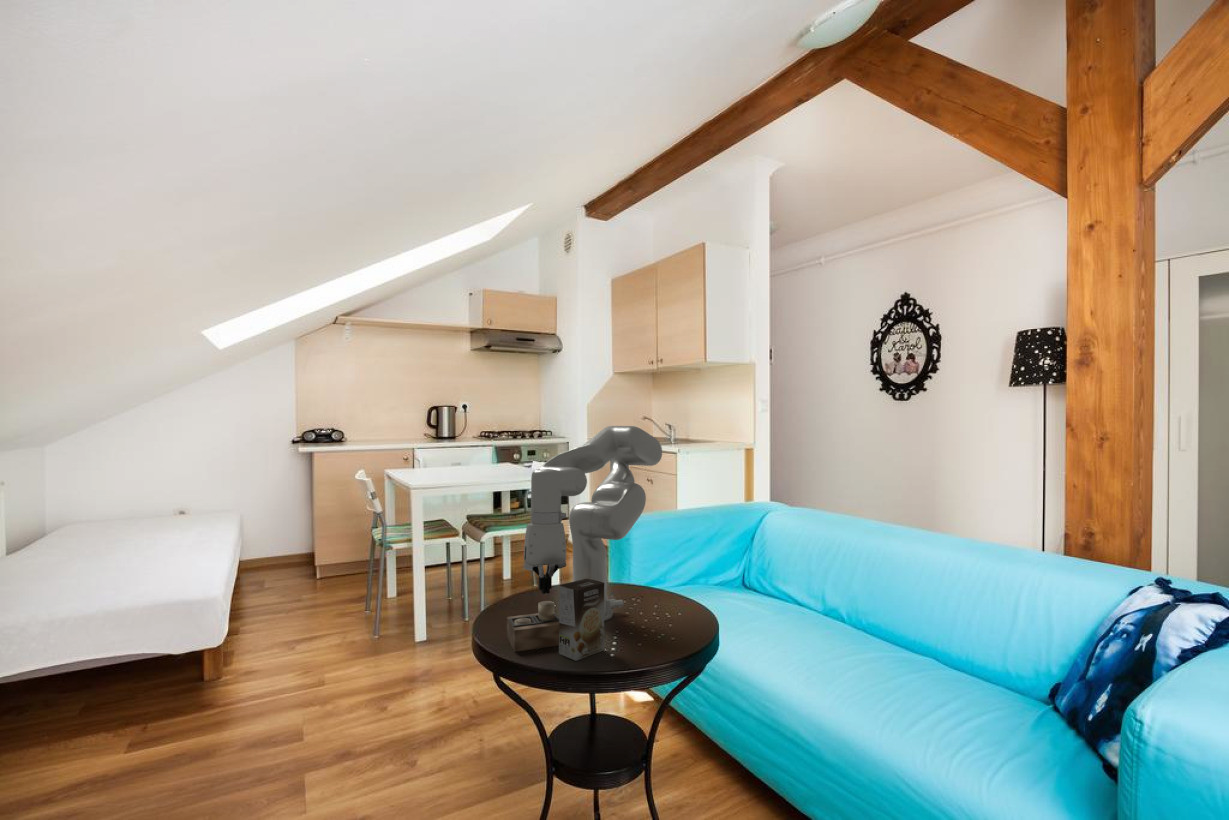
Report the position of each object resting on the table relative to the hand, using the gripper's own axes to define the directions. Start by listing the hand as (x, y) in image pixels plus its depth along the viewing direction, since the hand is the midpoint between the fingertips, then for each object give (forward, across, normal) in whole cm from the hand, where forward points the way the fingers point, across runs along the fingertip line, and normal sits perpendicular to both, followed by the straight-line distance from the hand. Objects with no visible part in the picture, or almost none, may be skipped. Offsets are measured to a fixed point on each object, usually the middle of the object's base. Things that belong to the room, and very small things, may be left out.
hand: (544, 592), depth 142 cm
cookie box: (+12, -6, +10) cm, 17 cm away
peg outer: (+11, +5, -1) cm, 12 cm away
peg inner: (+7, -1, 0) cm, 8 cm away
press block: (+12, +2, 0) cm, 12 cm away
